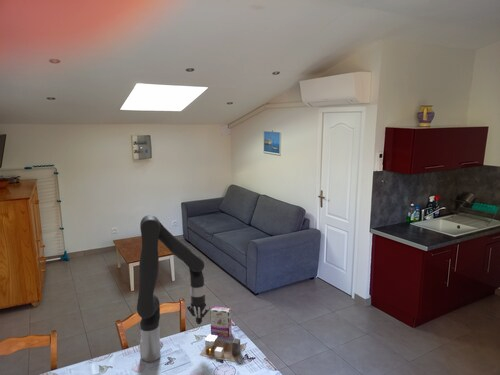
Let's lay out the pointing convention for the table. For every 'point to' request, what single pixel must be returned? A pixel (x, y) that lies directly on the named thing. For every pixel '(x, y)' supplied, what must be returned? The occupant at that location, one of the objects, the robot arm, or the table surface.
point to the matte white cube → (219, 352)
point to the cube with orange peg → (211, 343)
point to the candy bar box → (221, 321)
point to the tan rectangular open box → (226, 351)
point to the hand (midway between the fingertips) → (199, 323)
